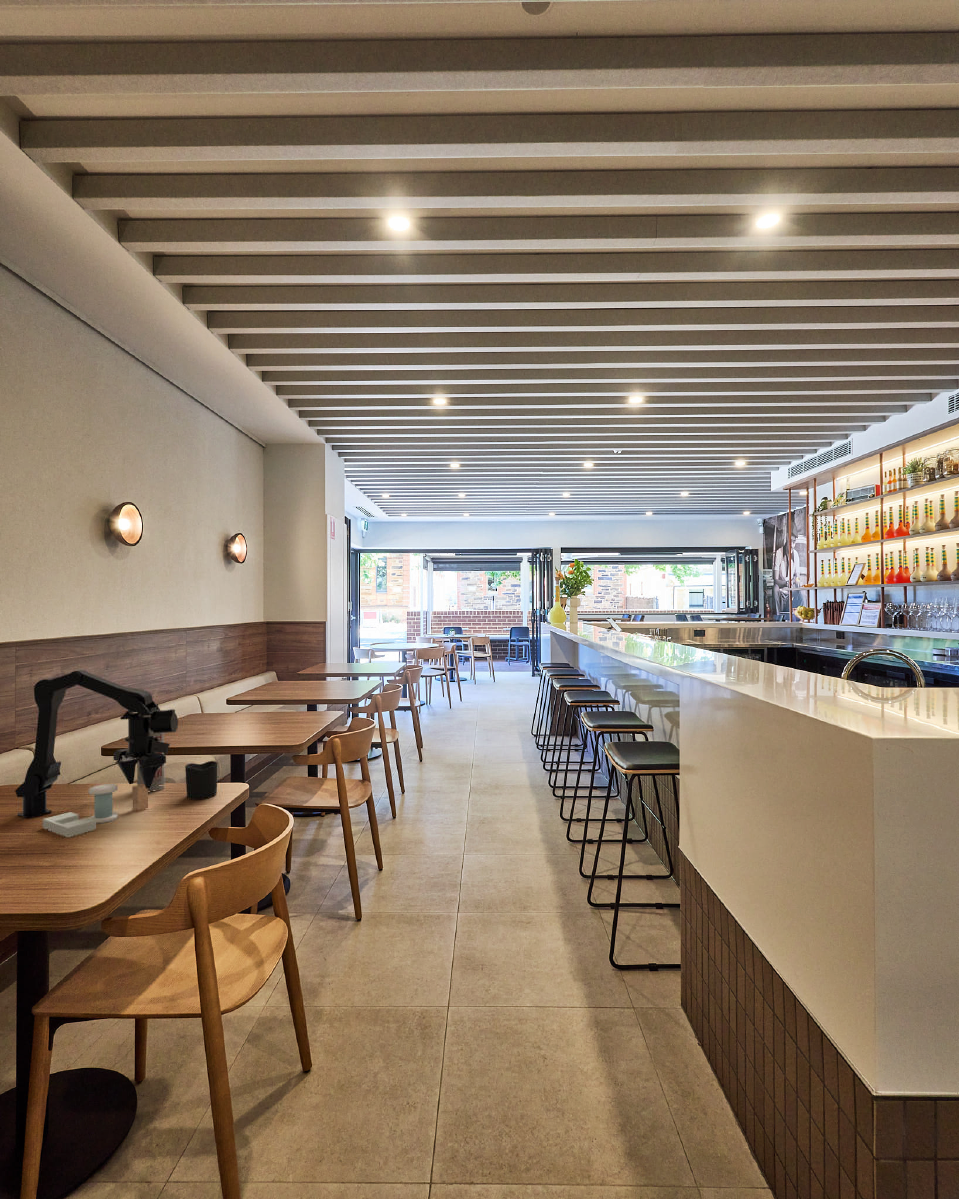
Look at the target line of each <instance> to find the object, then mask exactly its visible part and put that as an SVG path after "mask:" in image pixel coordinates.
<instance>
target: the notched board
mask: <svg viewBox="0 0 959 1199" xmlns="http://www.w3.org/2000/svg"><path fill="white" fill-rule="evenodd" d="M43 828H44V830H46V829H48V830H47V831H48V832H49V831H50V832H51V831H52V832H51V833H54V832H55V833H54V834H57V835H59V834H60V835H59V836H62V835H63V836H62V837H64V836H65V838H67V837H68V838H71V837H74V835H75V836H79V835H82V834H86V833H88V831H89V832H92V831H93V832H94V831H96V830H97V824H96V820H93V819H90V818H89V817H84V818H83V817H82V818H80V814H78V813H76V812H71V811H69V812H65V813H62V814H58V815H54V816H51V817H46V818H43V819H42V829H43ZM95 829H96V830H95ZM85 832H86V833H85ZM78 834H79V835H78Z"/></svg>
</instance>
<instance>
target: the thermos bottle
mask: <svg viewBox="0 0 959 1199" xmlns="http://www.w3.org/2000/svg"><path fill="white" fill-rule="evenodd" d="M156 705H157V706H158V707H159V704H157V703H156ZM164 734H165V733H154V732H153V731H151V730H150V736H153V737H154V738H158V740H159V742H164V743H165V735H164ZM155 753H160V752H155ZM161 754H164V755H165V753H163V752H162V753H161ZM139 767H141V766H140V764H139V761H138V762H137V764H136V775H137V777H136V778H137V783H136V785H139V784H144V781H143V778H142V775H141V772H140V769H139ZM159 785H165V764H163V766H160V767H159V768H158V769H157V770H156V773H155V775H154V778H153V781H152V784H151V787H150V788H148V791H153V790H159V791H161V790H164V789H165V786H159ZM163 788H164V789H163Z"/></svg>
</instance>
